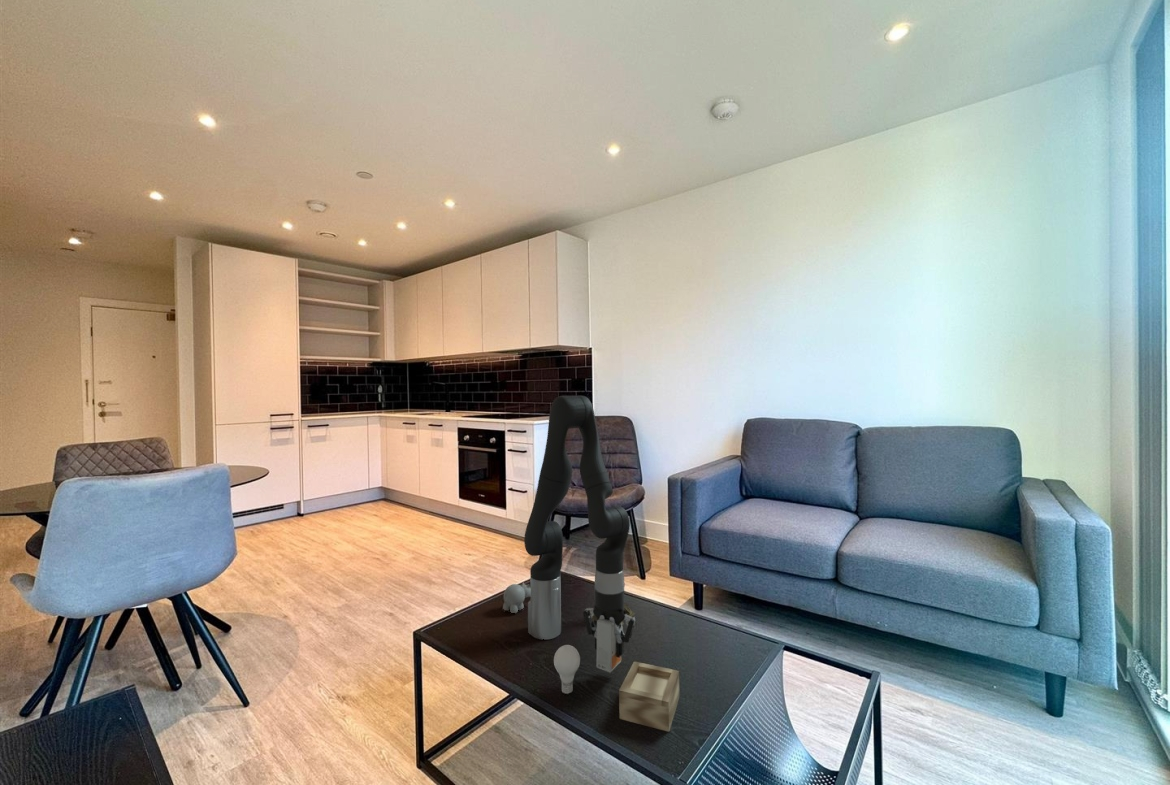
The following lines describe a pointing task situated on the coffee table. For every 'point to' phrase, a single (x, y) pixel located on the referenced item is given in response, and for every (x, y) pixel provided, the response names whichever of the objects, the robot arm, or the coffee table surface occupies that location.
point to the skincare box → (606, 646)
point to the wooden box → (649, 696)
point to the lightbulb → (567, 666)
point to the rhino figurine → (516, 597)
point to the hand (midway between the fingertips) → (609, 653)
